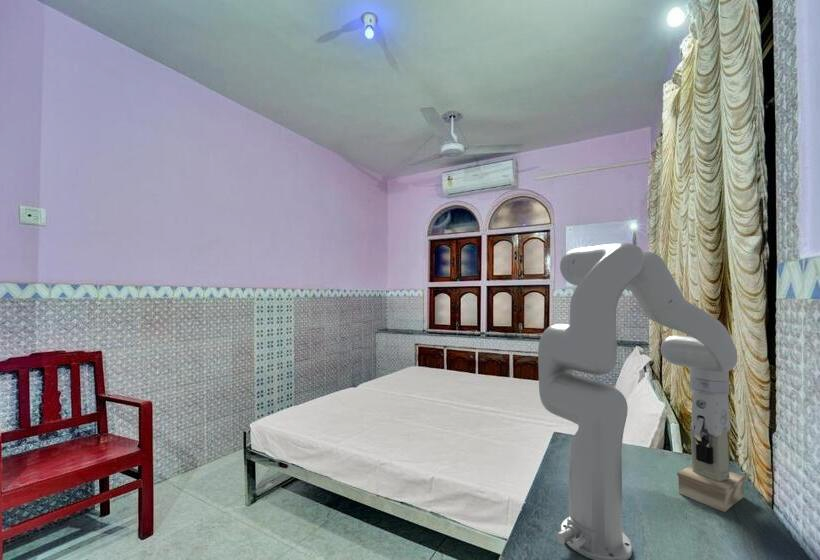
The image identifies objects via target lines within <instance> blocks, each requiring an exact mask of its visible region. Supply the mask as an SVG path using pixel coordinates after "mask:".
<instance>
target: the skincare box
mask: <svg viewBox="0 0 820 560" xmlns="http://www.w3.org/2000/svg"><path fill="white" fill-rule="evenodd" d="M689 424H690V446H691V449H690V450H691V451H690V452H691V465H692V471H695V472H697V473H699V474H702V475H704V476H707V477H709V478H712V479H715V480H717V481H723V480H726V479H728V478H730V476H729V471H730V461H729V460H730V459H729V455H730V453H729V438H728V434H729V433H728V432H727V428H724V429H722V435H720V436H718V437H714V436H713V435H712V442H711V447H712V448H713V464H712V465H710V464H707V463H704V462H701V461H698V460H697V459H696V443H695V441H696V439H695V436H694V434H693V433H694V430H693V428H692V421H691V422H690V423H689ZM703 432H705V433H708V431H706V430H703ZM708 434H709V433H708ZM703 437H705V438H706V440H707V436H705V435H703Z"/></svg>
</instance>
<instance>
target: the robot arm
mask: <svg viewBox="0 0 820 560" xmlns="http://www.w3.org/2000/svg"><path fill="white" fill-rule="evenodd" d="M559 270H560V273H561V276H562V277H563V279H564V280H565V281H566V282H568V283H569V284H570V285H572V286H573V285H574V286H576V287H575V289H574V291H573V293H572V295H571V299H570V302H569V303H570V304H569V324H568V323H554V324H552V325H550V326H548V327H547V328H546V329H545V330H544V331H543V332H542V334H541V335H540V339H539V341H538V347H537V348H538V350H537V353H538V355H537V356H538V357H537V359H538V364H537V365H538V388H539V389H538V390H539V399H540V401H541V404H542V406H543V407H544V409H545V410H547V412H548V413H551V414H552V415H555V416H556V417H560V418H562V419H564V420H567V421H569V422H572V423H574V424H576V425H577V427H578V429H577V431H576V432H575V433H574V435H572V438H571V439H570V442H569V445H568V517H567V518H565V519H564V520H563V521H562V522H561V524H560V531H557V532H556V534H555V539H556V541H557V542H558V543H559V544H560V545H564V544H567V545H568V546H569V548H570V549H572V550H573V551H575V552H576V553H578V554H579V555H581V556H583V557H586V558H587V559H590V560H629V559H630V558H631V557H632V554H633V545H632V541H631V540H630V539H629V537H628V536H627V534H625V533H624V532H623V466H622V465H623V462H622V461H623V459H622V458H623V456H622V455H623V438H624V432H625V427H626V426H625V425H626V422H627V418H628V410H629V409H628V408H629V407H628V401H627V399H626V397H625V395H624V394H623V393H622V392H621V390H619V389H618V388H616V387H614V386H613V385H611V384H608V383H607V382H604V381H600V380H595V379H592V378H588V377H583V376H580V375H575V374H574V371H575V372H581V373H585V374H590V375H595V376H602V375H603V376H604V375H607V374H608V375H609V374H610V373H612V372H613V371H614V370H615V368H616V365H617V359H618V340H617V339H618V333H617V329H618V328H617V308H618V302H619V300H620V298H621V296H622V295H623V292H624V291H625V290H629V291H631V293H632V295H633V296H634V298H635V300H636V301H637V303H638V305H639V306H640V308H641V310H642V311H643V313H644V315H645V316H646V317H647V318H648V319H649V320H650V321H652V322H653V323H656V324H658V325H661V326H663V327H666V328H668V329H672V330H674V331H677V332H680V333H683V335H682V334H674V335H673V334H672V335H670V336H668V337H666V338H664V339H663V341H662V342H661V345H660V354H661V356H662V357H663V359H664V360H665V361H666V362H668V363H670V364H672V365H676V366H679V367H685V368H689V389H690V390H691V391H692V399H691V400H692V402H691V422H692V428H693V430H694V433H693V434H694V436H695V439H696V441H695V443H696V459H697V460H698V461H701V462H704V463H707V464H710V465H712V464H713V448H712V447H711V442H712V435H713V436H714V437H718V436H720V435H722V429H724V428H727V433H728V432H730V430H731V415H730V405H729V404H730V403H729V398H728V397H729V395H730V378H729V377H730V374H729V372H730V371H731V370H733V369H735V367H736V366H737V363H738V359H739V358H738V357H739V356H738V351H737V348H736V344H735V343H734V340H733V338H732V336H731V335H730V333H729V331H728V329H727V328H726V326H725V325H724V324H723V323H722V322H721V321H720V320H718V319H717V318H716V317H715V316H713V315H712V314H710V313H708V312H707V311H705V310H703V309H702V308H701V307H699V306H697V305H696V304H693V303H691V302H690V301H688V300H686V298H685V297H684V295H683V292H682V291H681V289H680V287H679V286H678V284H677V282H676V281H675V278H674V277H673V274H672V273H671V271H670V270H669V268H668V266H667V264H666V262H665V260H664V259H663V258H662V257H661V256H660V255H658V253H656V252H655V253H654V252H652V251H643V250H642V248H641V247H640V246H638V245H637V244H634V243H630V242H629V243H628V242H627V243H626V242H615V243H606V244H599V245H598V244H597V245H594V246H593V245H592V246H585V247H579V248H573V249H571V250H569V251H567V252H565V254H564V255H563V256H562V257H561V260H560V264H559ZM684 334H686V335H684ZM703 430H706V431H708V433H709V434H708V433H705V432H703ZM703 435H705V436H707V440H706V438H705V437H703Z"/></svg>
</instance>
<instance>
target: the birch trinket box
mask: <svg viewBox="0 0 820 560" xmlns="http://www.w3.org/2000/svg"><path fill="white" fill-rule="evenodd" d="M676 473H677V476H678V494H680V495H682V496H684V497H688V498H690V499H692V500H694V501H697V502H698V503H699V502H700V503H701V504H705V505H707V506H709V507H712V508H714V509H716V510H719V511H721V512H724V513H725V512H727V511H728V510H730V508H731V507H733V506H734V505H736V503H738V502H739V501H741V500H742V499H743V498H745V496H744V495H745V493H744V492H745V491H744V490H745V489H744V481H745V480H746V477H745V475H741V474H740V473H739V474H738V473H736V472H733V471H730V470H729V476H730V478H728V479H726V480H723V481H717V480H715V479H712V478H709V477H707V476H704V475H702V474H699V473H697V472H695V471H692V464H691V465H689V466H686V467H685V468H683V469H681V470H680V471H677V472H676Z"/></svg>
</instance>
